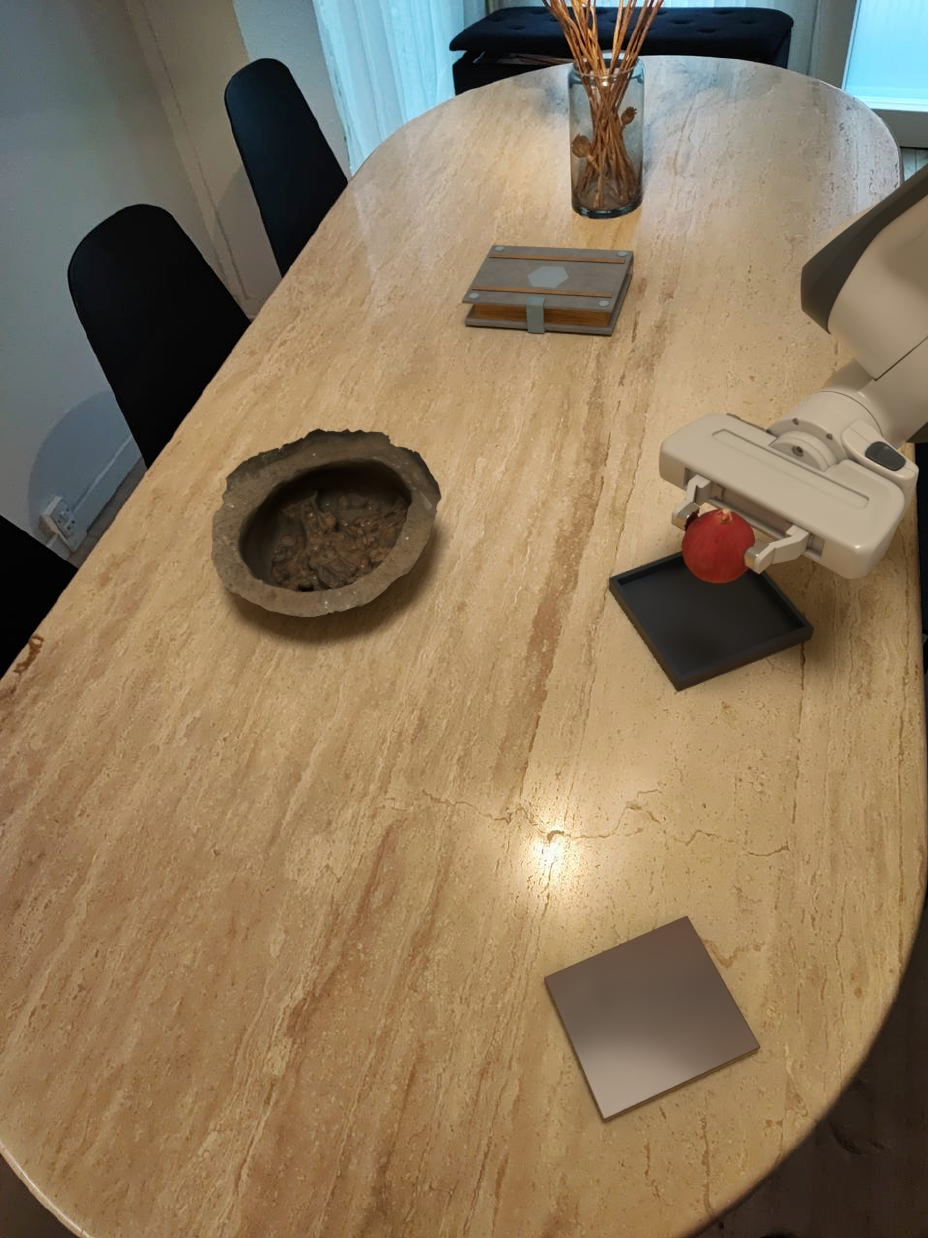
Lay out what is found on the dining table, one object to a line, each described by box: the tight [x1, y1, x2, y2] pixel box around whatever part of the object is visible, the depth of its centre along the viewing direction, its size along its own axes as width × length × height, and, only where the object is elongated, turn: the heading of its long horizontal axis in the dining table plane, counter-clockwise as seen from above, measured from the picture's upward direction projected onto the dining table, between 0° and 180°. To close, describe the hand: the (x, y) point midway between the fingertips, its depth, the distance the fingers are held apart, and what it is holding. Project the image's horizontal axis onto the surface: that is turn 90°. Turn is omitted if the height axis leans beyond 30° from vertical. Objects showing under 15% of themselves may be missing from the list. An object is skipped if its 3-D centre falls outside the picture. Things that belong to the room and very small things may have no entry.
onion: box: [680, 508, 757, 583], centre depth 69 cm, size 6×6×8 cm
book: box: [461, 244, 635, 336], centre depth 121 cm, size 21×16×5 cm
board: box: [543, 915, 761, 1124], centre depth 62 cm, size 10×12×1 cm
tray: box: [608, 550, 815, 692], centre depth 84 cm, size 14×14×2 cm
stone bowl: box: [210, 428, 442, 618], centre depth 92 cm, size 25×25×9 cm
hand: (714, 542), depth 68 cm, fingers closed on onion, 6 cm apart
